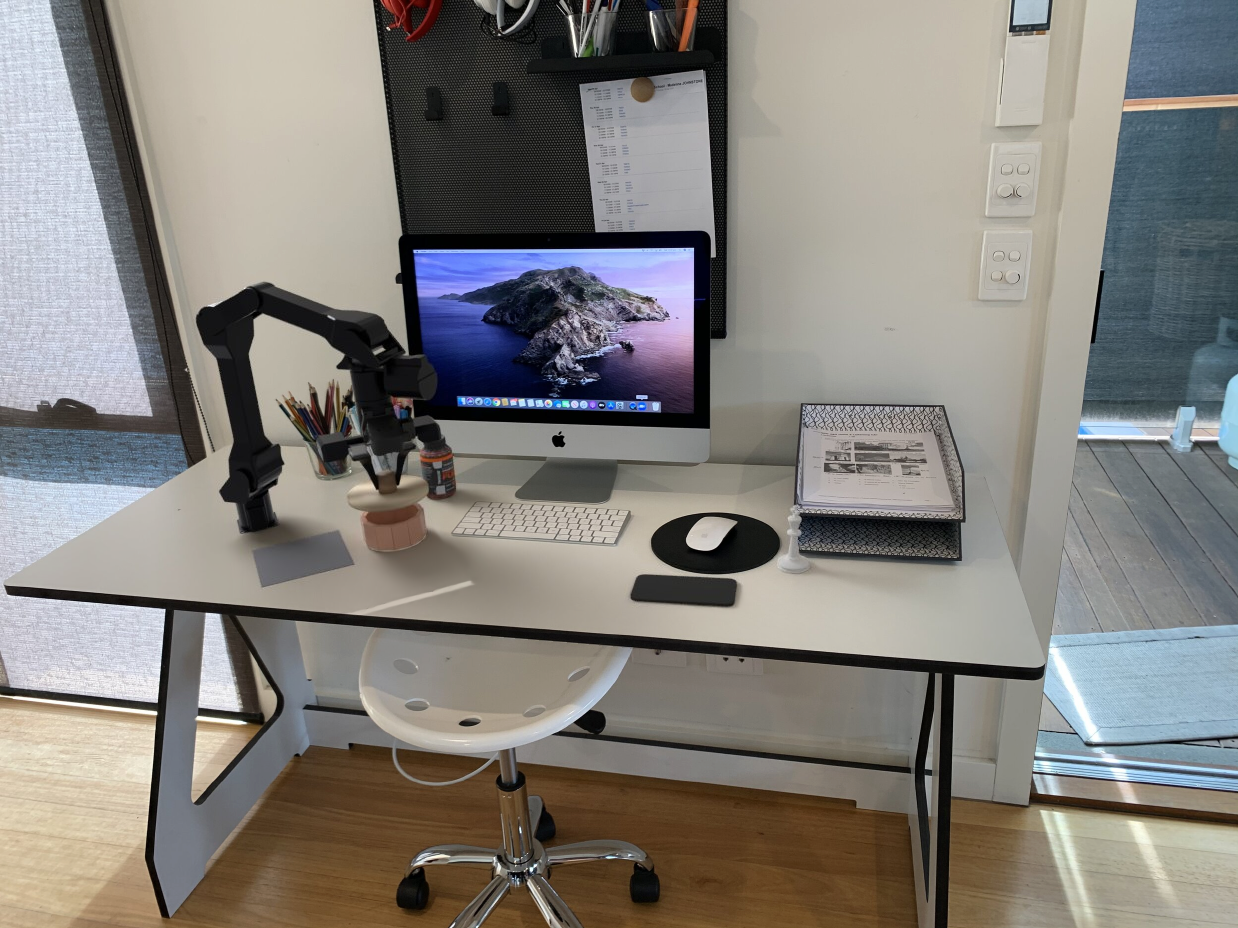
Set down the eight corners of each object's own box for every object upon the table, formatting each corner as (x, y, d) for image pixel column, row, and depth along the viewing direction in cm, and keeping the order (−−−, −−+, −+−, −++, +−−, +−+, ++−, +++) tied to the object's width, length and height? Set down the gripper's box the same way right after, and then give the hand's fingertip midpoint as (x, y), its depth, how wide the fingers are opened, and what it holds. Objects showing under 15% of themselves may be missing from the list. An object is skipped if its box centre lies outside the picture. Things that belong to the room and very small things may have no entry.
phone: (637, 573, 135) (737, 578, 132) (637, 578, 136) (737, 583, 133) (628, 598, 129) (733, 604, 126) (629, 603, 129) (733, 609, 126)
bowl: (360, 535, 152) (355, 509, 151) (417, 522, 156) (414, 496, 154) (372, 559, 144) (368, 532, 142) (433, 544, 148) (429, 517, 146)
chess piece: (790, 576, 133) (792, 516, 129) (770, 563, 137) (771, 503, 133) (816, 568, 135) (819, 508, 131) (796, 555, 139) (798, 496, 135)
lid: (340, 490, 150) (337, 469, 148) (417, 473, 155) (414, 453, 153) (356, 518, 139) (352, 496, 137) (438, 500, 144) (435, 478, 143)
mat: (252, 553, 148) (252, 550, 148) (339, 533, 154) (338, 530, 154) (262, 590, 136) (261, 586, 136) (355, 567, 142) (354, 563, 142)
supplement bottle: (450, 500, 164) (442, 443, 160) (419, 499, 165) (411, 442, 161) (461, 487, 170) (454, 431, 165) (432, 486, 171) (424, 431, 167)
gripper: (320, 421, 130) (337, 518, 136) (445, 398, 137) (456, 491, 143) (308, 401, 139) (325, 493, 145) (426, 381, 147) (437, 469, 153)
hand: (387, 487), depth 146 cm, fingers closed on lid, 3 cm apart
